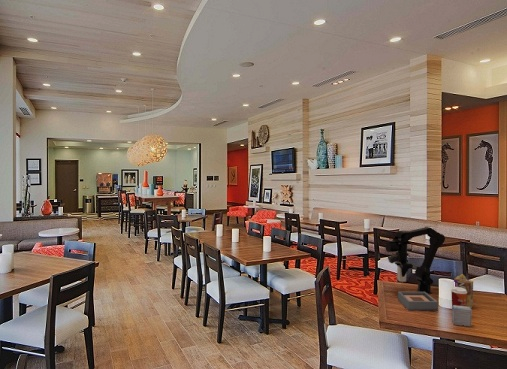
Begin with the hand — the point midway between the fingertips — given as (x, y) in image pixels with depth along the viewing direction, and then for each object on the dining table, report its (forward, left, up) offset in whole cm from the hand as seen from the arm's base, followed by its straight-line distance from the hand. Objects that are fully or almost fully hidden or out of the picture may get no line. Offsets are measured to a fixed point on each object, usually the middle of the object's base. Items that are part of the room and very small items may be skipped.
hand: (401, 275), depth 218 cm
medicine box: (-14, +42, -12) cm, 46 cm away
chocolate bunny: (-34, +6, -12) cm, 37 cm away
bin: (-2, +18, -12) cm, 22 cm away
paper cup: (-19, +30, -12) cm, 37 cm away
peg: (0, 0, -3) cm, 3 cm away
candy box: (-28, +18, -12) cm, 35 cm away
